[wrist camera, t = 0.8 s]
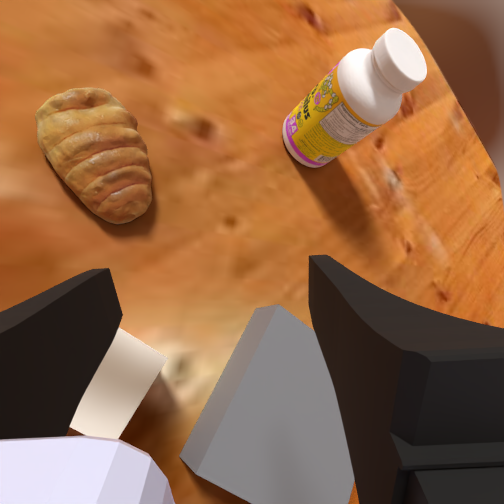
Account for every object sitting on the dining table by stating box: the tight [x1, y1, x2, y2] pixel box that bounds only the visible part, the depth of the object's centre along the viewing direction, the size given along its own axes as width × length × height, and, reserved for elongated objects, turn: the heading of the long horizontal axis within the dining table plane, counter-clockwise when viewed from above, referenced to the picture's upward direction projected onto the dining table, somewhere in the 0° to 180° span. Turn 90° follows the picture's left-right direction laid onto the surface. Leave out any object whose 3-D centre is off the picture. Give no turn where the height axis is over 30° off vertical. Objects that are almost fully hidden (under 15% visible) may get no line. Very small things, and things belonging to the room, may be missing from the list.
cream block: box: [70, 328, 168, 439], centre depth 19 cm, size 5×5×5 cm
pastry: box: [35, 88, 152, 224], centre depth 23 cm, size 9×7×4 cm
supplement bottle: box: [282, 28, 427, 168], centre depth 30 cm, size 7×7×13 cm
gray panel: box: [179, 304, 355, 504], centre depth 25 cm, size 12×12×4 cm
